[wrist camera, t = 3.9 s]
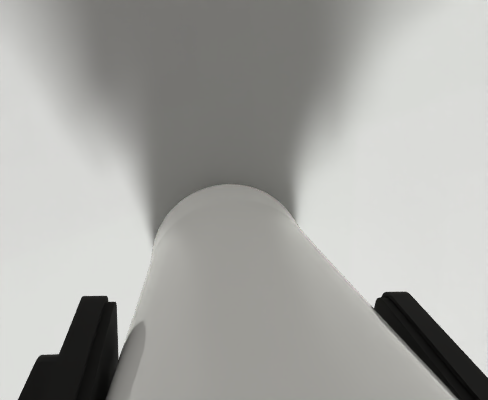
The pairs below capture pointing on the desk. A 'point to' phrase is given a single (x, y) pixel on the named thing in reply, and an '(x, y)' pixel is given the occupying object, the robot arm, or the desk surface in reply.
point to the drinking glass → (257, 315)
